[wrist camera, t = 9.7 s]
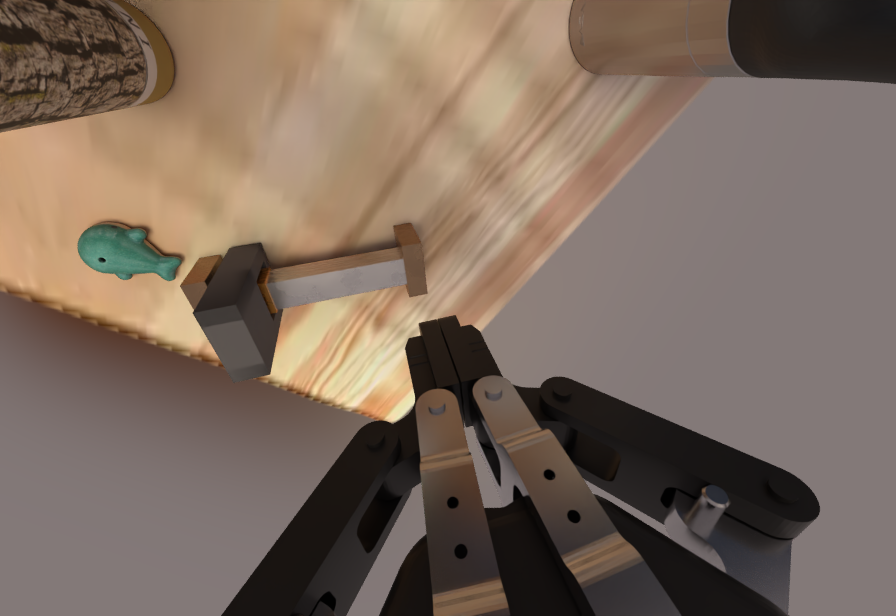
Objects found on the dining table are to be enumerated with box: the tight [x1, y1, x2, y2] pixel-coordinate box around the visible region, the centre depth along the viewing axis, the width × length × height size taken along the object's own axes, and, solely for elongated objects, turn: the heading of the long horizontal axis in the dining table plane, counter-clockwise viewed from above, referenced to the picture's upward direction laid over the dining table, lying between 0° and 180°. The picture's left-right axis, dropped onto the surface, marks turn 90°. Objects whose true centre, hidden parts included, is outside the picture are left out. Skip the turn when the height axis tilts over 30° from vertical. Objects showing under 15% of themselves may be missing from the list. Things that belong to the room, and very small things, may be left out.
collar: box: [193, 243, 283, 383], centre depth 34 cm, size 3×7×12 cm, turn 4°
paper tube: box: [0, 0, 174, 132], centre depth 17 cm, size 7×7×25 cm
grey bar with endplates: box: [180, 223, 428, 314], centre depth 38 cm, size 22×6×6 cm, turn 94°
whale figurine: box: [78, 222, 182, 281], centre depth 33 cm, size 6×7×4 cm
